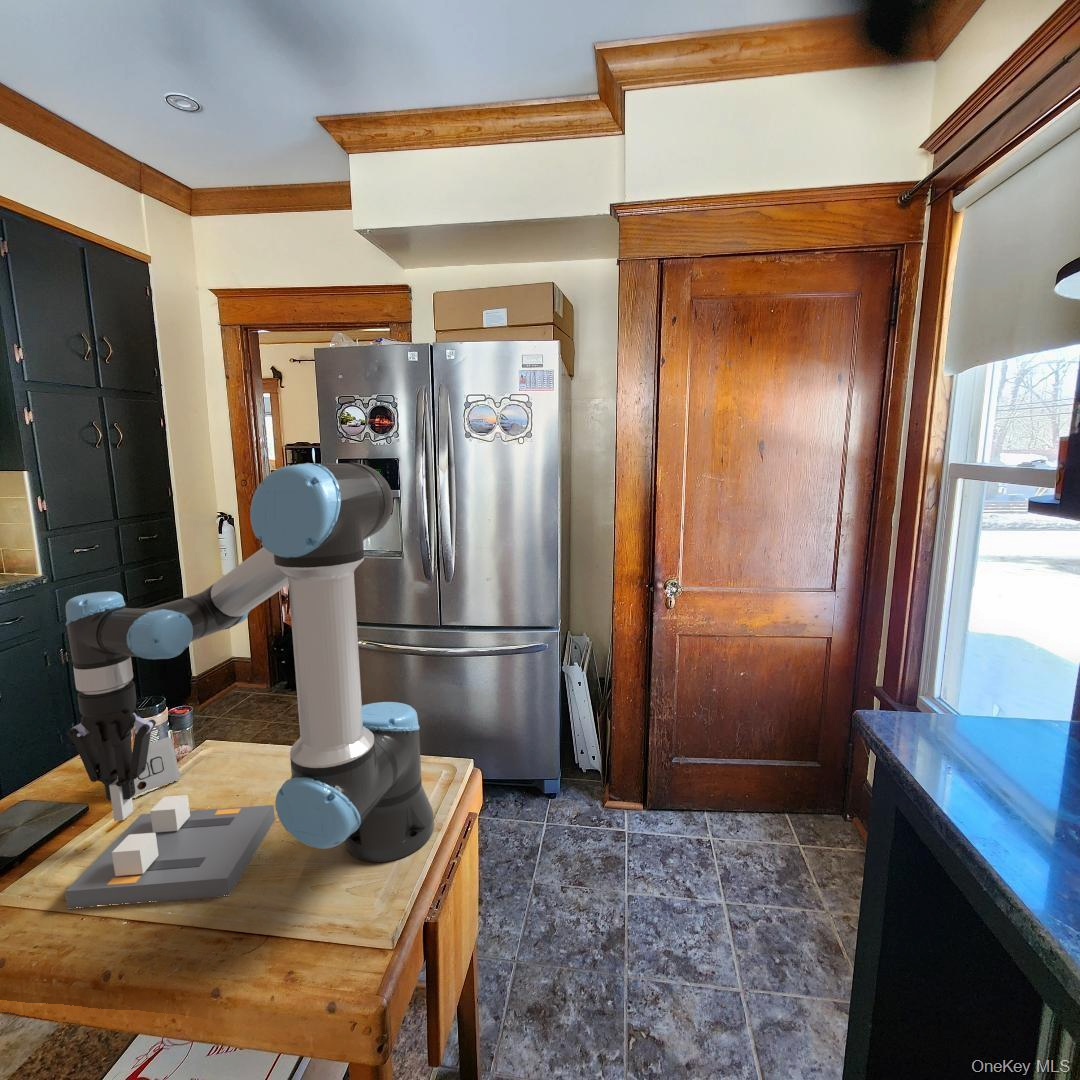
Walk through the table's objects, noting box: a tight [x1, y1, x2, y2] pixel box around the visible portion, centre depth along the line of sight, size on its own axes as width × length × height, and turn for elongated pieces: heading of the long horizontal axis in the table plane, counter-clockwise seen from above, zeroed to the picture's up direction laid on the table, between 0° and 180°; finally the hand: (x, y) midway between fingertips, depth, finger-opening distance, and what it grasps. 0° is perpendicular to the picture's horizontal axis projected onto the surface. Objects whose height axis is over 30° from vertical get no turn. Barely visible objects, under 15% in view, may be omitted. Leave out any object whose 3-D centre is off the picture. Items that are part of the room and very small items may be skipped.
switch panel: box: [64, 804, 276, 909], centre depth 92 cm, size 23×18×3 cm
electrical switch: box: [132, 736, 181, 798], centre depth 113 cm, size 9×5×9 cm, turn 141°
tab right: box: [149, 794, 191, 833], centre depth 96 cm, size 4×4×4 cm
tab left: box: [112, 833, 159, 876], centre depth 86 cm, size 4×4×4 cm
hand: (123, 815), depth 95 cm, fingers closed
